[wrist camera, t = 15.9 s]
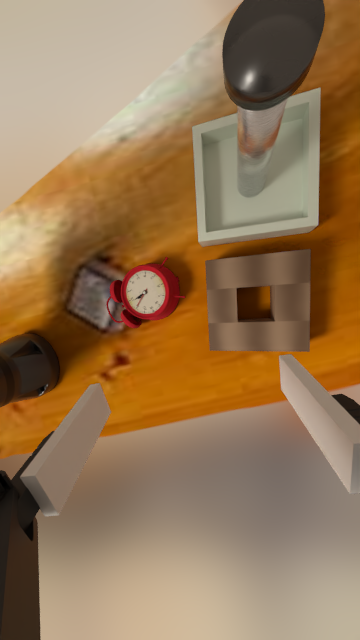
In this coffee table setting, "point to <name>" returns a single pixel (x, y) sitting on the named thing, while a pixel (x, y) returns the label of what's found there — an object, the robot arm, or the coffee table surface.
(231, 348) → the brown square frame
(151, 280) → the alarm clock
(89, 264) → the coffee table surface
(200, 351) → the coffee table surface
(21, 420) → the coffee table surface
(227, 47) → the steel pin
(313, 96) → the sage tray
